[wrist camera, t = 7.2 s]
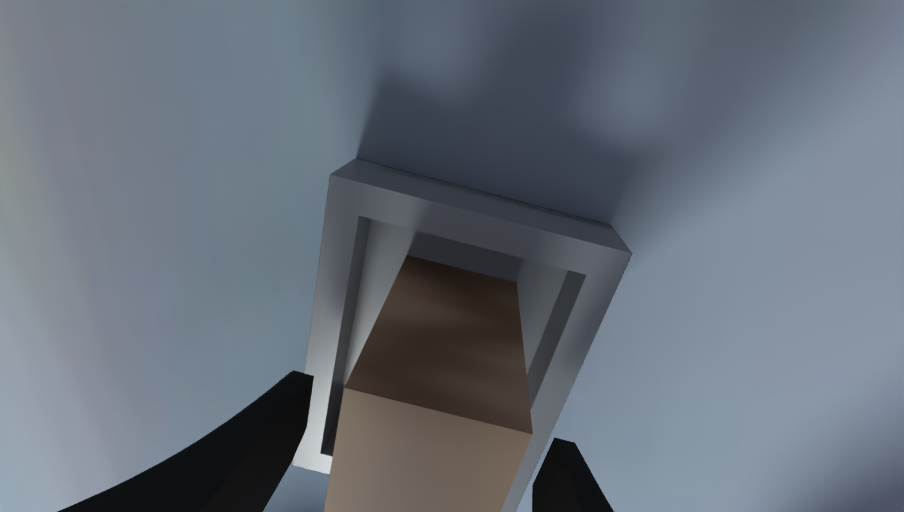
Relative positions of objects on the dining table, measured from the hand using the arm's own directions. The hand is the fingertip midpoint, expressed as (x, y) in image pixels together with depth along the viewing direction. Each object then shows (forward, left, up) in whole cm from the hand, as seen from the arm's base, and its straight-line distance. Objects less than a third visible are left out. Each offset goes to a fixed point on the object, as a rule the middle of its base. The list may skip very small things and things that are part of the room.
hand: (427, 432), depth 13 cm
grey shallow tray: (0, 0, -5) cm, 5 cm away
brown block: (0, 0, -4) cm, 4 cm away
